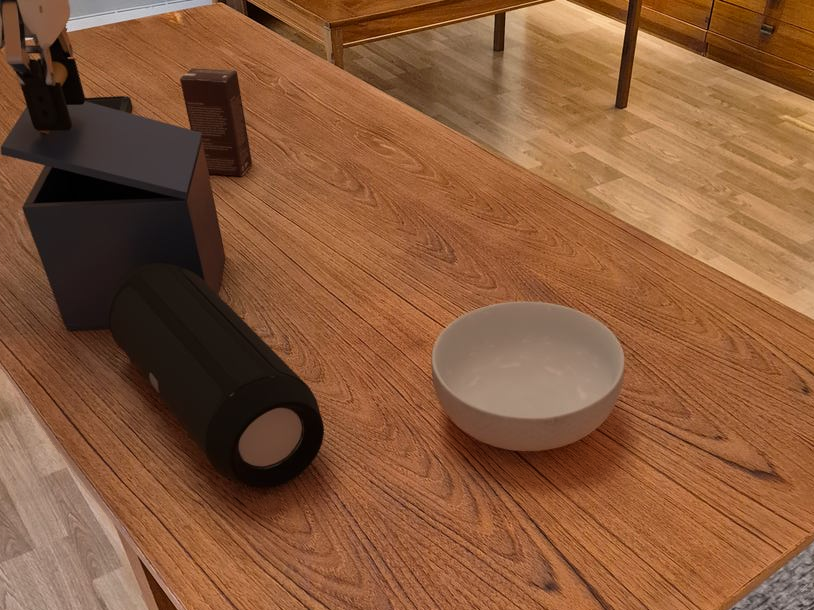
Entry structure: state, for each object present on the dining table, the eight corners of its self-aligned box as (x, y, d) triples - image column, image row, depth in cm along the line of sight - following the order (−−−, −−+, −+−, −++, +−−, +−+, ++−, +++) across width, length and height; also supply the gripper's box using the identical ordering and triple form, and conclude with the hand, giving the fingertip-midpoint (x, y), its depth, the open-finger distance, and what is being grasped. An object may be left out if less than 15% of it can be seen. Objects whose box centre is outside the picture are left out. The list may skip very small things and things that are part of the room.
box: (253, 163, 119) (238, 69, 110) (242, 178, 115) (225, 82, 107) (210, 159, 119) (191, 65, 111) (197, 174, 116) (177, 78, 108)
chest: (66, 331, 89) (21, 207, 80) (92, 262, 99) (55, 145, 90) (214, 323, 91) (187, 200, 82) (225, 256, 101) (202, 140, 92)
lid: (0, 154, 77) (0, 91, 73) (37, 96, 87) (38, 37, 83) (185, 200, 82) (193, 142, 78) (200, 139, 92) (208, 86, 88)
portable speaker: (115, 364, 86) (85, 272, 79) (211, 330, 90) (190, 240, 83) (231, 517, 71) (207, 421, 64) (339, 468, 75) (327, 373, 69)
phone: (131, 95, 132) (120, 136, 121) (133, 103, 133) (122, 144, 122) (75, 98, 131) (59, 139, 120) (77, 106, 132) (62, 147, 121)
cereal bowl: (446, 355, 88) (445, 293, 83) (615, 368, 86) (625, 306, 81) (418, 471, 75) (415, 406, 70) (615, 489, 74) (626, 424, 69)
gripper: (-25, -140, 75) (40, 82, 88) (-95, -94, 63) (-8, 156, 75) (68, -138, 76) (119, 81, 88) (16, -92, 64) (84, 155, 76)
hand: (60, 114), depth 82 cm, fingers closed on lid, 5 cm apart
